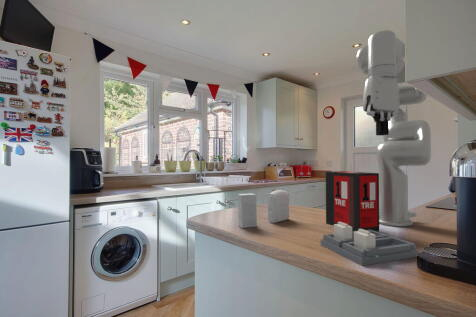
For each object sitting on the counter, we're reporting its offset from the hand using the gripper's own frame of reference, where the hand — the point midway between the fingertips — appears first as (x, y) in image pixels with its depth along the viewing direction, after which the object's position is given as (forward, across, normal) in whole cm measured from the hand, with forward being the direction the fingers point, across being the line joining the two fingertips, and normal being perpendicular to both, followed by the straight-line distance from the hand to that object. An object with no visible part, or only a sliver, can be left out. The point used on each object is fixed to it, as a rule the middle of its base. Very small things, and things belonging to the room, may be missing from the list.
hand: (382, 134), depth 80 cm
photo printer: (+32, +18, -34) cm, 50 cm away
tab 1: (+31, +15, +1) cm, 34 cm away
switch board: (+32, +11, +5) cm, 34 cm away
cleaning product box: (+32, -2, -16) cm, 36 cm away
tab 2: (+31, +16, +9) cm, 35 cm away
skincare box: (+32, +33, -30) cm, 55 cm away
